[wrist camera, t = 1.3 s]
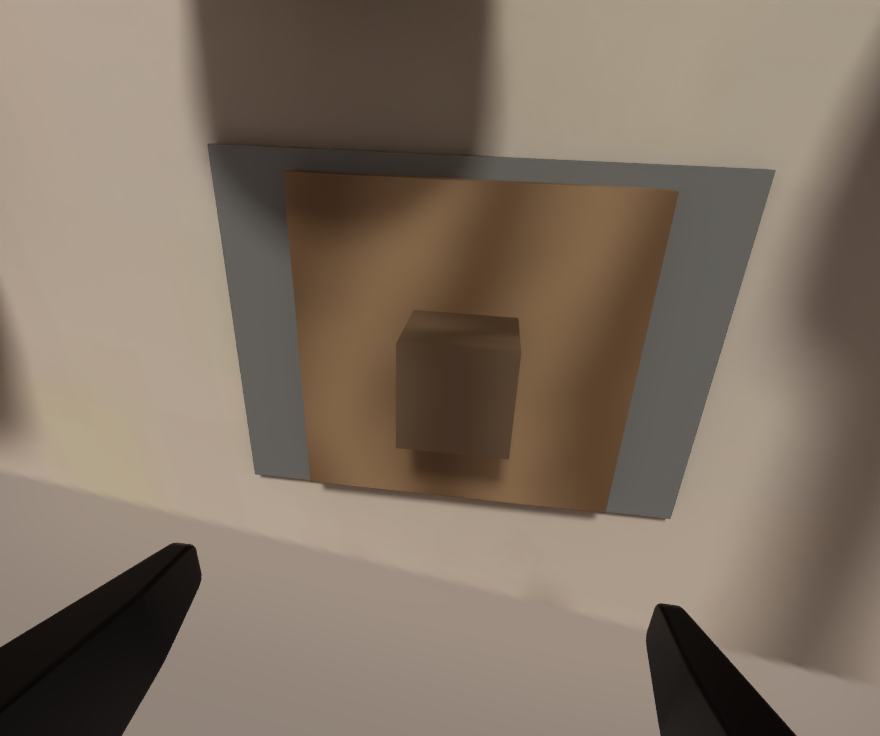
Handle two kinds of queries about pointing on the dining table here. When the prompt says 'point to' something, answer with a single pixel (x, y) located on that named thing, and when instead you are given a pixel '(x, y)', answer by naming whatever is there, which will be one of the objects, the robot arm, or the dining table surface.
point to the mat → (694, 222)
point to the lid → (471, 330)
